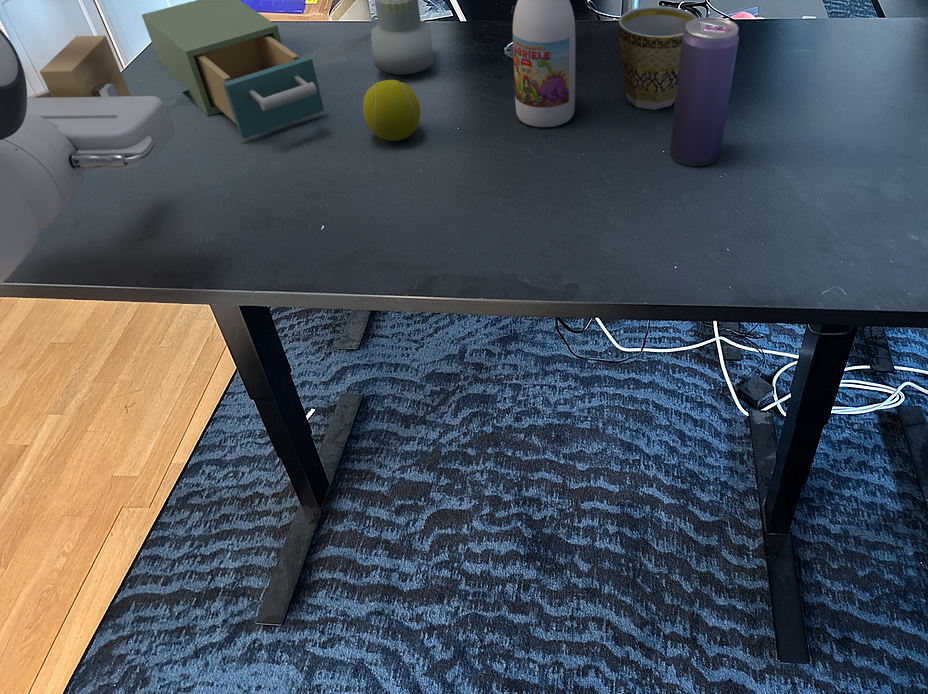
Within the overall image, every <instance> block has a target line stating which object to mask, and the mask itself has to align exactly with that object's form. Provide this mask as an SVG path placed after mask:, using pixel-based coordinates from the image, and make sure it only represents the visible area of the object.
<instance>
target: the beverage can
mask: <svg viewBox="0 0 928 694" xmlns="http://www.w3.org/2000/svg"><path fill="white" fill-rule="evenodd" d="M739 40H740V37H739V25H738V24H737V23H736V22H734V21H732V20H731V19H728V18H723V17H718V16H701V17H697V18H696V19H693V20H691V21H689V22H688V23H687V24H686V26H685V32H684V34H683V37H682V46H681V55H680V64H679V73H678V82H677V91H676V99H675V101H674V109H673V119H672V128H671V136H670V146H669V151H670V154H671V156H672V157H673V159H674V160H675V161H676V162H677V163H679V164H681V165H685V166H689V167H705V166H708V165H711V164H713V163H714V162H715V161H716V160H717V159H718V157H719V156H720V154H721V150H722V144H723V138H724V133H725V126H726V120H727V114H728V109H729V103H730V101H729V100H730V95H731V90H732V83H733V77H734V71H735V64H736V59H737V52H738V46H739Z"/></svg>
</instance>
